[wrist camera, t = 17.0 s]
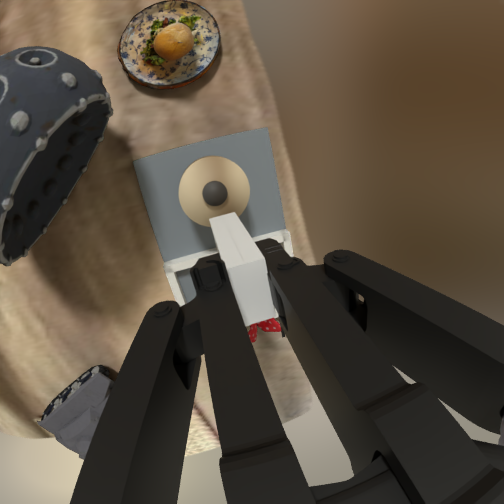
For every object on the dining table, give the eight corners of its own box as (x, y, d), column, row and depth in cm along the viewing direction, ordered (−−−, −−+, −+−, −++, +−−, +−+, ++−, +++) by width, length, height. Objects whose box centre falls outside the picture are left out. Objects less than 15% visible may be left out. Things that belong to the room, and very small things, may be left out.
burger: (206, -5, 25) (212, -32, 18) (231, 73, 30) (243, 58, 24) (111, 24, 24) (96, 2, 17) (133, 104, 29) (120, 97, 23)
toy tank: (178, 402, 48) (184, 471, 34) (107, 443, 50) (104, 498, 37) (99, 350, 40) (81, 424, 27) (41, 404, 43) (25, 461, 29)
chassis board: (193, 335, 42) (195, 353, 39) (134, 160, 32) (127, 163, 28) (296, 306, 44) (305, 320, 41) (265, 127, 33) (274, 126, 30)
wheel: (188, 227, 32) (189, 237, 29) (171, 165, 29) (170, 168, 26) (250, 210, 32) (257, 218, 30) (237, 148, 30) (243, 150, 27)
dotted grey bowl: (138, 98, 29) (82, 58, 11) (56, 234, 32) (-25, 321, 14) (75, 58, 25) (-13, 7, 7) (1, 193, 28) (-97, 248, 10)
